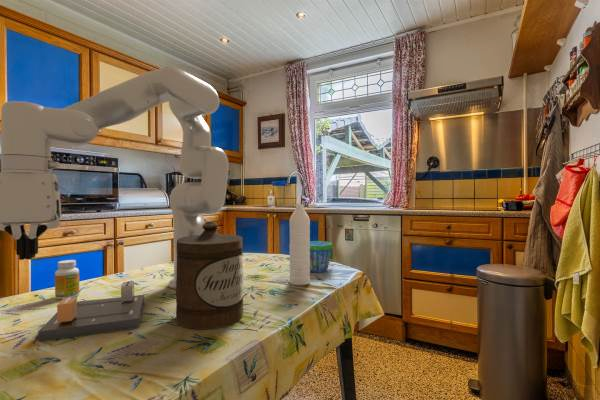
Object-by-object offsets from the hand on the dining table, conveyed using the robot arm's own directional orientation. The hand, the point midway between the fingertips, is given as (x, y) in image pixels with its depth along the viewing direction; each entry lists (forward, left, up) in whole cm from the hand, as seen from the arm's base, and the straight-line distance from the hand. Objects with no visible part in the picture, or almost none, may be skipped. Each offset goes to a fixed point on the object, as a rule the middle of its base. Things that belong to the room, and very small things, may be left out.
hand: (27, 258), depth 64 cm
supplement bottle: (0, -26, -16) cm, 30 cm away
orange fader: (-7, 0, -13) cm, 15 cm away
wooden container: (-35, +3, -16) cm, 38 cm away
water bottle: (-65, -14, -16) cm, 68 cm away
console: (-12, -4, -15) cm, 20 cm away
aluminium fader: (-17, -10, -13) cm, 23 cm away
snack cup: (-76, -27, -16) cm, 82 cm away
